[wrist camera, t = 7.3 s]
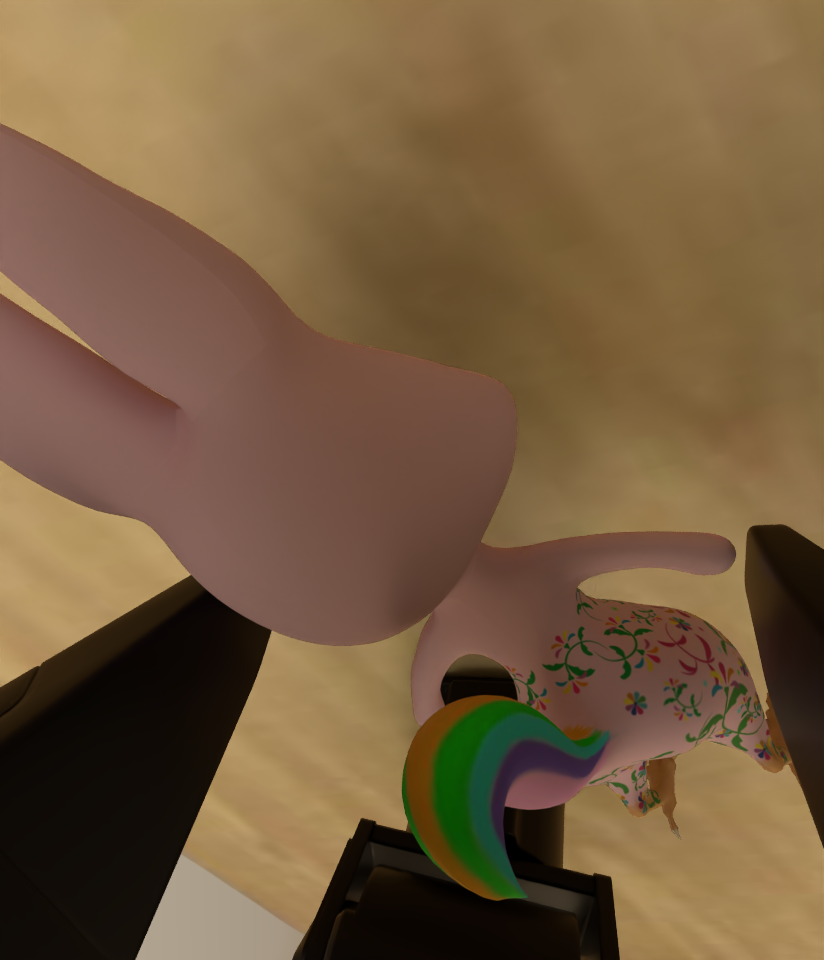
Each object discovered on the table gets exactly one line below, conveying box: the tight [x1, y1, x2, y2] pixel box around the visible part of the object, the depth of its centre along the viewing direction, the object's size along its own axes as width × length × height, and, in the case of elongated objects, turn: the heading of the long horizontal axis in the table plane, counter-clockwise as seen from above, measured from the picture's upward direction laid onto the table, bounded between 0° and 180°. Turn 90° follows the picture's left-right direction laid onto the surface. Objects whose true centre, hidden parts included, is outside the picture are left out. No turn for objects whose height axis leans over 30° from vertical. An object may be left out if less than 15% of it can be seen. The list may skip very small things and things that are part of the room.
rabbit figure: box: [0, 123, 802, 901], centre depth 8 cm, size 6×6×15 cm
